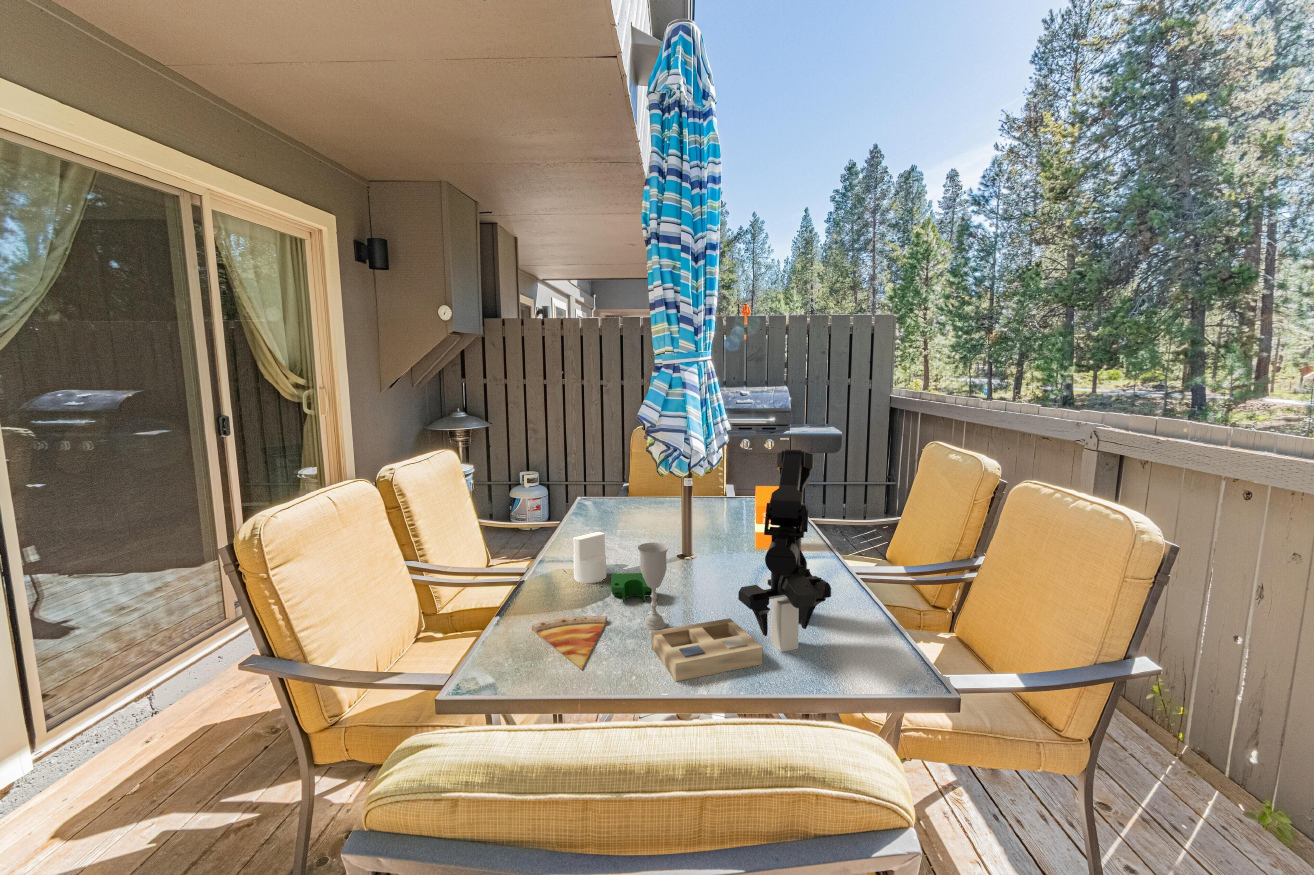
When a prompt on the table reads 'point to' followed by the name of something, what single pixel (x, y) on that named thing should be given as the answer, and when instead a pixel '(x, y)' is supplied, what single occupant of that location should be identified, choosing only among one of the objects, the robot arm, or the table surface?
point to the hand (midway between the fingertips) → (784, 631)
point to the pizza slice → (572, 636)
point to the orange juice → (762, 515)
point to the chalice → (653, 578)
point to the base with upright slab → (589, 558)
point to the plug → (784, 624)
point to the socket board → (705, 649)
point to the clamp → (629, 585)
